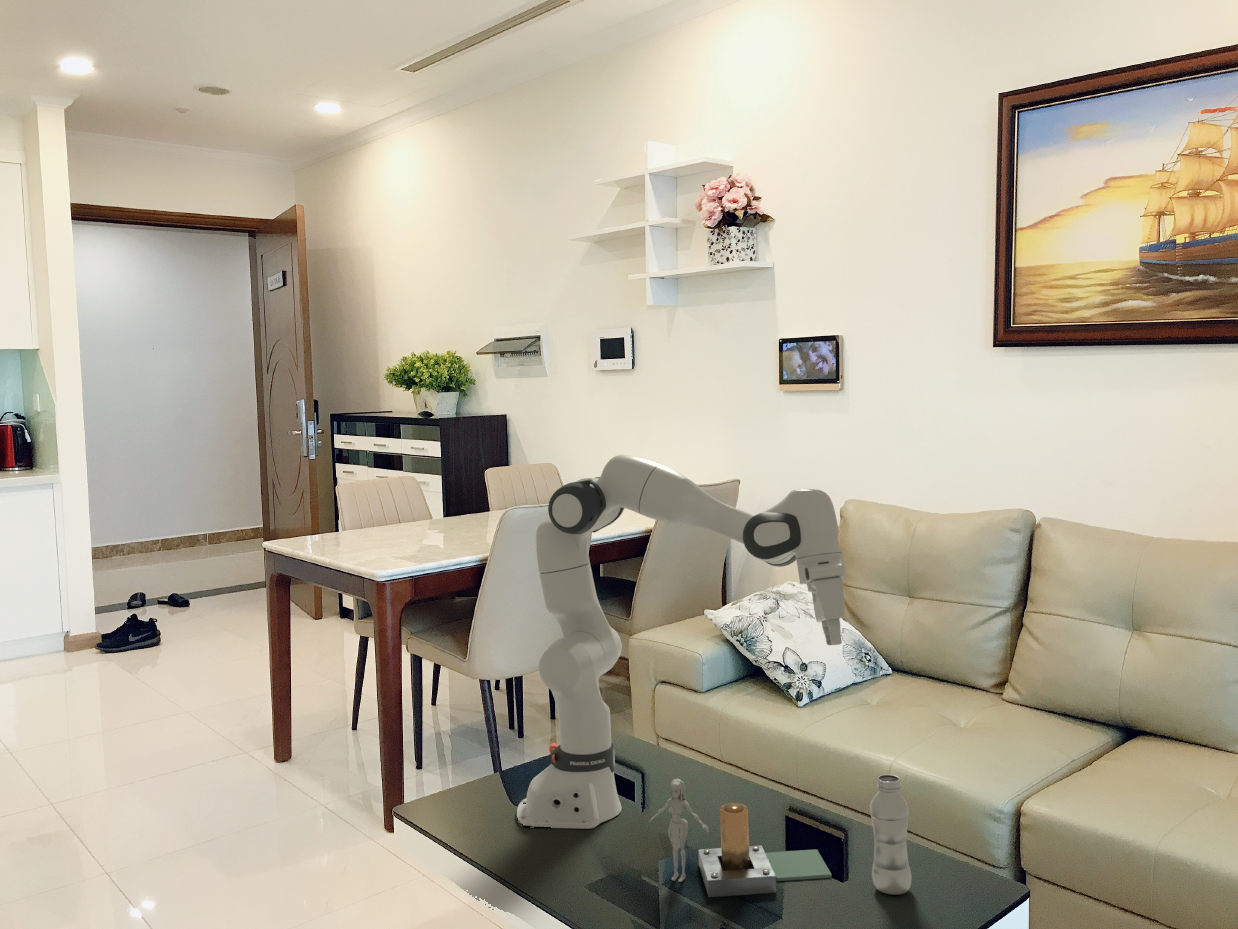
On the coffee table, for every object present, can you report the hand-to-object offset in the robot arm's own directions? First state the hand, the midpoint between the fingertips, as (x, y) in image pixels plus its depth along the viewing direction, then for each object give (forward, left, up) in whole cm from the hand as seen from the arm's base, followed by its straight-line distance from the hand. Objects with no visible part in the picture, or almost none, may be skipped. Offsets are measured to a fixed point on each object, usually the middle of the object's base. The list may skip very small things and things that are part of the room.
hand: (834, 645), depth 181 cm
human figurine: (-31, -5, -40) cm, 51 cm away
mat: (-9, -4, -40) cm, 41 cm away
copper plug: (-21, -7, -40) cm, 46 cm away
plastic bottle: (+5, -15, -40) cm, 43 cm away
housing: (-21, -7, -40) cm, 46 cm away
